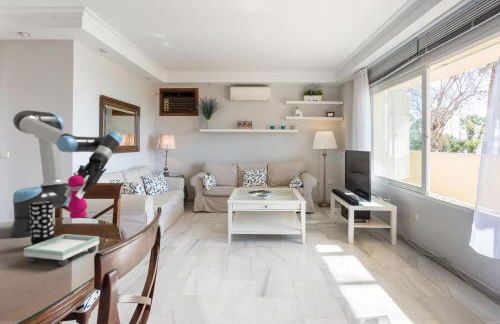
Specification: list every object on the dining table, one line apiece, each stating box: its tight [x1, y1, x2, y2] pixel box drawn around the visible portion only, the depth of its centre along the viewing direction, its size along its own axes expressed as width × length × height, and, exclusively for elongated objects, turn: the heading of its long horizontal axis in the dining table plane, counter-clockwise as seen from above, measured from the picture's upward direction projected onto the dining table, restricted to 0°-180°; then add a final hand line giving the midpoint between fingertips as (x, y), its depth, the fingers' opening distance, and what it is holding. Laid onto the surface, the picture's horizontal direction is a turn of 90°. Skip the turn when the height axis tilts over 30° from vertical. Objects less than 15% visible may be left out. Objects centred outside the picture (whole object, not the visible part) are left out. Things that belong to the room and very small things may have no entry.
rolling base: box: [23, 233, 100, 267], centre depth 112 cm, size 18×18×6 cm
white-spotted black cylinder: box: [30, 201, 55, 246], centre depth 124 cm, size 8×8×20 cm
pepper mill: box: [67, 171, 88, 219], centre depth 121 cm, size 7×7×20 cm
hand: (72, 196), depth 119 cm, fingers closed on pepper mill, 5 cm apart
